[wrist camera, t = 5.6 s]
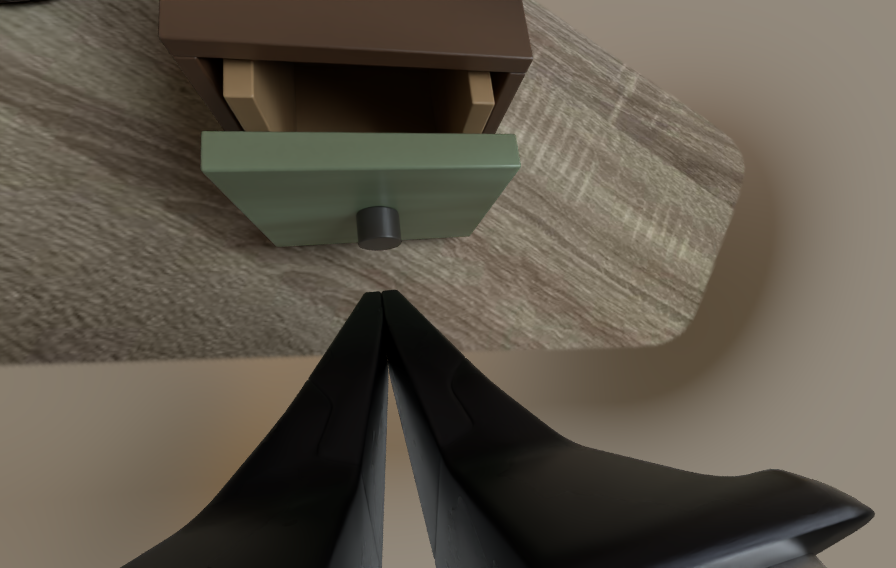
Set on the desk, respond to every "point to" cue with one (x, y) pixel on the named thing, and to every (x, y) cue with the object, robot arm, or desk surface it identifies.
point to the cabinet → (348, 39)
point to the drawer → (358, 152)
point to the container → (3, 0)
